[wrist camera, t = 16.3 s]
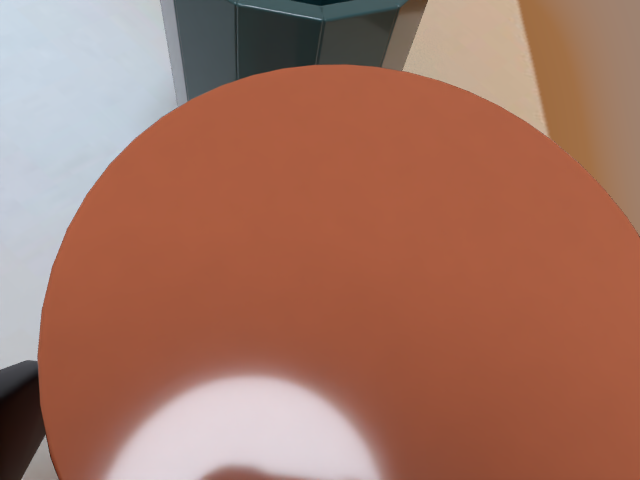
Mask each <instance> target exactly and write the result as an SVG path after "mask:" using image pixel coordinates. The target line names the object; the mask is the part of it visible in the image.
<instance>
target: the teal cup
mask: <svg viewBox="0 0 640 480" xmlns="http://www.w3.org/2000/svg"><path fill="white" fill-rule="evenodd" d="M427 2H428V0H160V3H161V9H162V15H163V21H164V27H165V33H166V39H167V45H168V51H169V57H170V63H171V69H172V75H173V81H174V87H175V93H176V99H177V105H178V107H179V106H181V105H183V104H184V103H186V102H188V101H189V100H191V99H193V98H195V97H197V96H199V95H202V94H204V93H206V92H208V91H210V90H212V89H215V88H217V87H219V86H221V85H224V84H227V83H230V82H233V81H236V80H239V79H242V78H245V77H248V76H251V75H255V74H259V73H264V72H269V71H273V70H278V69H282V68H290V67H299V66H308V65H327V64H350V65H362V66H374V67H382V68H387V69H393V70H399V71H402V70H403V67H404V65H405V62H406V59H407V56H408V54H409V51H410V48H411V45H412V43H413V40H414V37H415V34H416V32H417V29H418V26H419V24H420V21H421V18H422V15H423V13H424V10H425V7H426V4H427Z"/></svg>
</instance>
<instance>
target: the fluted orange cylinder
mask: <svg viewBox="0 0 640 480" xmlns="http://www.w3.org/2000/svg"><path fill="white" fill-rule="evenodd" d="M37 359H38V378H39V396H40V408H41V413H42V418H43V423H44V428H45V433H46V438H47V442H48V447H49V452H50V457H51V460H52V462H53V465H54V468H55V471H56V473H57V476H58V479H59V480H640V236H639V235H638V233H637V232H636V230H635V228H634V227H633V226H632V224H631V222H630V221H629V220H628V218H627V216H626V215H625V214H624V213H623V211H622V210H621V209H620V208H619V206H618V205H617V204H616V203H615V202H614V200H613V199H612V198H611V197H610V195H609V194H608V193H607V192H606V190H605V189H604V188H603V187H602V186H601V185H600V184H599V183H598V182H597V181H596V180H595V179H594V178H593V177H592V176H591V175H590V174H589V173H588V172H587V171H586V170H585V169H584V168H583V166H582V165H581V164H579V163H578V162H577V161H576V160H575V159H574V158H573V157H571V156H570V155H569V154H568V153H567V152H566V151H564V150H563V149H562V148H561V147H560V146H559V145H557V144H556V143H555V142H554V141H553V140H551V139H550V138H548V137H547V136H546V135H544V134H543V133H541V132H540V131H538V130H537V129H536V128H534V127H533V126H531V125H530V124H529V123H527V122H526V121H524V120H522V119H521V118H519V117H517V116H515V115H514V114H512V113H510V112H509V111H507V110H505V109H504V108H502V107H500V106H498V105H496V104H494V103H492V102H490V101H488V100H486V99H484V98H482V97H479V96H477V95H475V94H473V93H471V92H469V91H466V90H463V89H461V88H458V87H455V86H453V85H450V84H447V83H445V82H442V81H439V80H435V79H432V78H428V77H424V76H421V75H417V74H413V73H410V72H405V71H399V70H393V69H387V68H382V67H374V66H362V65H350V64H327V65H308V66H299V67H290V68H282V69H278V70H273V71H269V72H264V73H259V74H255V75H251V76H248V77H245V78H242V79H239V80H236V81H233V82H230V83H227V84H224V85H221V86H219V87H217V88H215V89H212V90H210V91H208V92H206V93H204V94H202V95H199V96H197V97H195V98H193V99H191V100H189V101H188V102H186V103H184V104H183V105H181V106H179V107H178V108H176V109H174V110H173V111H171V112H170V113H168V114H166V115H165V116H163V117H162V118H160V119H159V120H158V121H157V122H155V123H154V124H153V125H151V126H150V127H149V128H148V129H146V130H145V131H144V132H143V133H141V134H140V135H139V136H137V137H136V138H135V139H134V140H133V141H132V142H131V143H130V144H129V145H128V146H127V147H126V148H125V149H124V150H123V151H122V152H121V153H120V154H119V155H118V156H117V157H116V158H115V159H114V160H113V161H112V162H111V163H110V164H109V166H108V167H107V168H106V170H105V171H104V172H103V174H102V175H101V176H100V178H99V179H98V180H97V181H96V183H95V184H94V185H93V187H92V188H91V189H90V191H89V192H88V193H87V195H86V197H85V198H84V200H83V202H82V204H81V205H80V207H79V209H78V211H77V213H76V214H75V216H74V218H73V220H72V221H71V223H70V225H69V227H68V228H67V231H66V234H65V236H64V239H63V241H62V244H61V246H60V249H59V251H58V254H57V256H56V259H55V261H54V264H53V266H52V270H51V274H50V278H49V282H48V287H47V291H46V295H45V299H44V303H43V307H42V313H41V323H40V334H39V345H38V356H37Z"/></svg>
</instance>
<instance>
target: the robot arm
mask: <svg viewBox="0 0 640 480" xmlns="http://www.w3.org/2000/svg"><path fill="white" fill-rule="evenodd" d="M45 435H46V433H45V428H44V423H43V418H42V413H41V408H40V396H39V378H38V361H32V360H27V361H24V362H21V363H18V364H15V365H12V366H10V367H7V368H4V369H1V370H0V480H21V478H22V477H23V475H24V473H25V471H26V469H27V468H28V466H29V464H30V462H31V460H32V458H33V457H34V455H35V453H36V451H37V449H38V447H39V446H40V444H41V442H42V440H43V438H44V437H45Z"/></svg>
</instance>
